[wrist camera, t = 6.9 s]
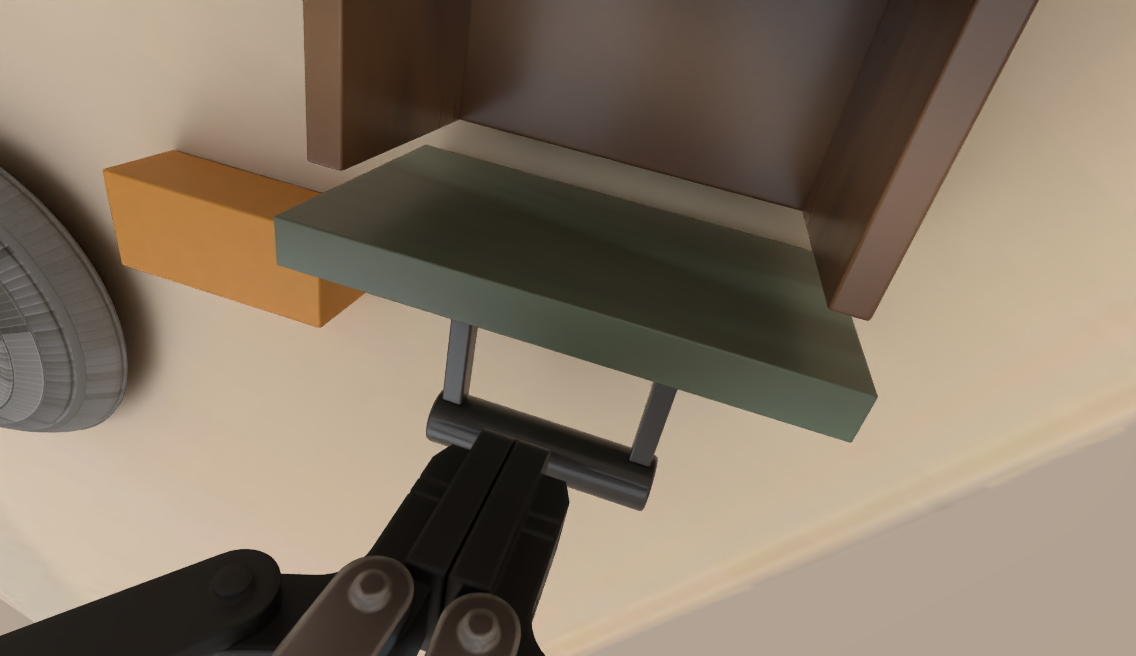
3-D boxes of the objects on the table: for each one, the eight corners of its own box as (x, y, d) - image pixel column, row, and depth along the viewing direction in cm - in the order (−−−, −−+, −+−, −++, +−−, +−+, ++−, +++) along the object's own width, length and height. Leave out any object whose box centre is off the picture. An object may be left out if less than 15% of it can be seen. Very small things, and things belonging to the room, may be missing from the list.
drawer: (749, 436, 21) (751, 618, 15) (411, 330, 23) (286, 455, 17) (1103, -335, 11) (1529, -727, 5) (466, -432, 13) (209, -826, 7)
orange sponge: (185, 237, 25) (120, 265, 22) (172, 149, 23) (100, 168, 20) (366, 293, 24) (320, 329, 21) (368, 205, 22) (318, 233, 19)
